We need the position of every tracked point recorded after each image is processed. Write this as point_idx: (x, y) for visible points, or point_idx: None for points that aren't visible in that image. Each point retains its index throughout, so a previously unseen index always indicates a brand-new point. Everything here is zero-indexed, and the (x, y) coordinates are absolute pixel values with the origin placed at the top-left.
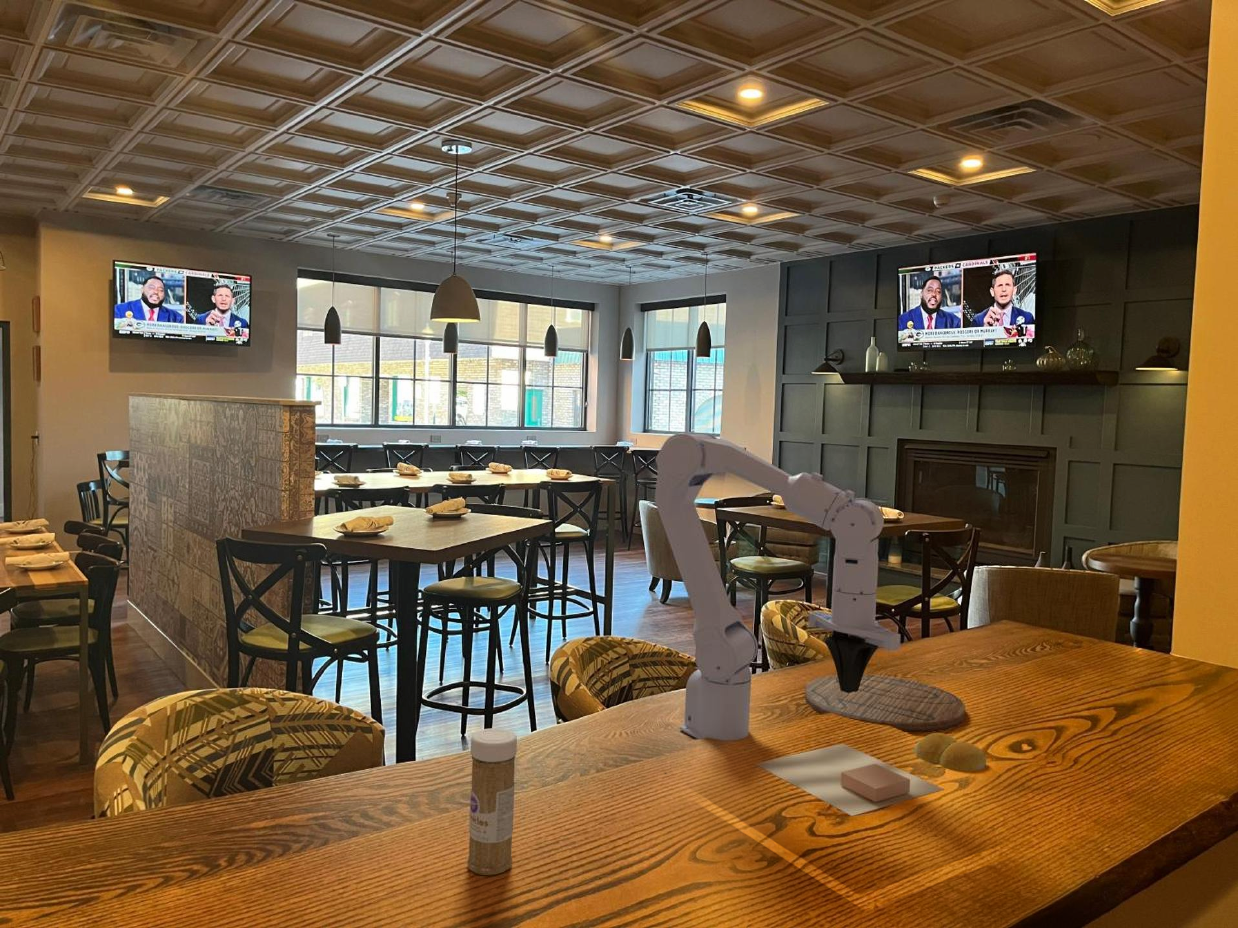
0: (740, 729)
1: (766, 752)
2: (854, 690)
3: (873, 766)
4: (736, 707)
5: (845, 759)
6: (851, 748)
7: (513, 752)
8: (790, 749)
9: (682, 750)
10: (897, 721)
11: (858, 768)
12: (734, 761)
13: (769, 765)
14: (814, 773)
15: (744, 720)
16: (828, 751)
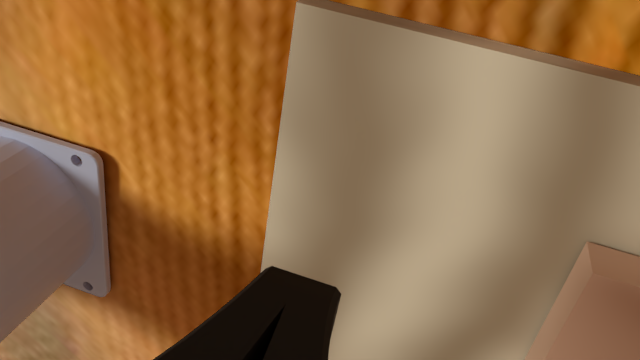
0: (68, 253)
1: (175, 213)
2: (332, 328)
3: (599, 304)
4: (11, 321)
5: (408, 158)
6: (356, 25)
7: None
8: (192, 138)
9: (74, 332)
10: None
11: (555, 349)
12: (183, 318)
13: None
14: (403, 327)
15: (45, 255)
16: (315, 130)
